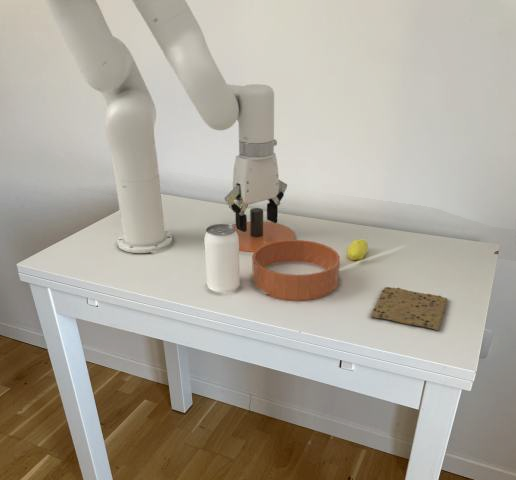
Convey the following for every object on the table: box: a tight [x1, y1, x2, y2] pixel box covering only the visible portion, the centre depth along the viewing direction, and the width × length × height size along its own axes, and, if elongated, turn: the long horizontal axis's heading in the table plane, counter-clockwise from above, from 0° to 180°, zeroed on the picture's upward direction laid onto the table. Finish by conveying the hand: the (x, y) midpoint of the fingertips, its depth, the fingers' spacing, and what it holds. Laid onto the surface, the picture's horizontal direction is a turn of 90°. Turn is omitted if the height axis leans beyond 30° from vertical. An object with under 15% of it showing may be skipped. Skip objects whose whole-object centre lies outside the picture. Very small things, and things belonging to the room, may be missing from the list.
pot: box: [251, 239, 341, 302], centre depth 108 cm, size 17×17×5 cm
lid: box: [231, 207, 296, 253], centre depth 126 cm, size 18×18×7 cm
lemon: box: [346, 238, 369, 261], centre depth 117 cm, size 4×8×4 cm, turn 153°
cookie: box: [371, 286, 448, 331], centre depth 99 cm, size 12×12×1 cm
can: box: [203, 223, 241, 293], centre depth 104 cm, size 6×6×12 cm
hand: (257, 225), depth 126 cm, fingers open, 8 cm apart
